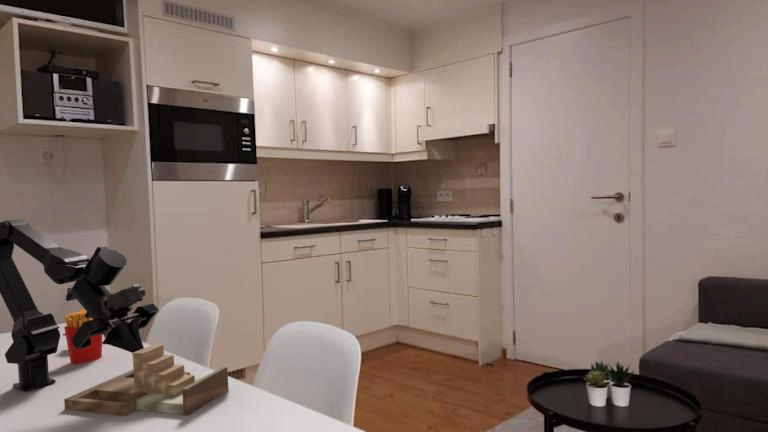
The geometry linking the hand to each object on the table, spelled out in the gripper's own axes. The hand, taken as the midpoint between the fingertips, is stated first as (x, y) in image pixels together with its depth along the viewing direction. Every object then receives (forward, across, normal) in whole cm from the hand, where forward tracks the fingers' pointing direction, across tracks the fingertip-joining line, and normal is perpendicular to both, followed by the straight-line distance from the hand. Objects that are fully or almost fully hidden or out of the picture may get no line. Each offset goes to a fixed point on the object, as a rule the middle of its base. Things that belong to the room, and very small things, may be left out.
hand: (142, 353), depth 111 cm
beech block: (+9, 0, +1) cm, 9 cm away
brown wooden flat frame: (+8, 0, +5) cm, 9 cm away
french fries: (-19, +18, +31) cm, 40 cm away
